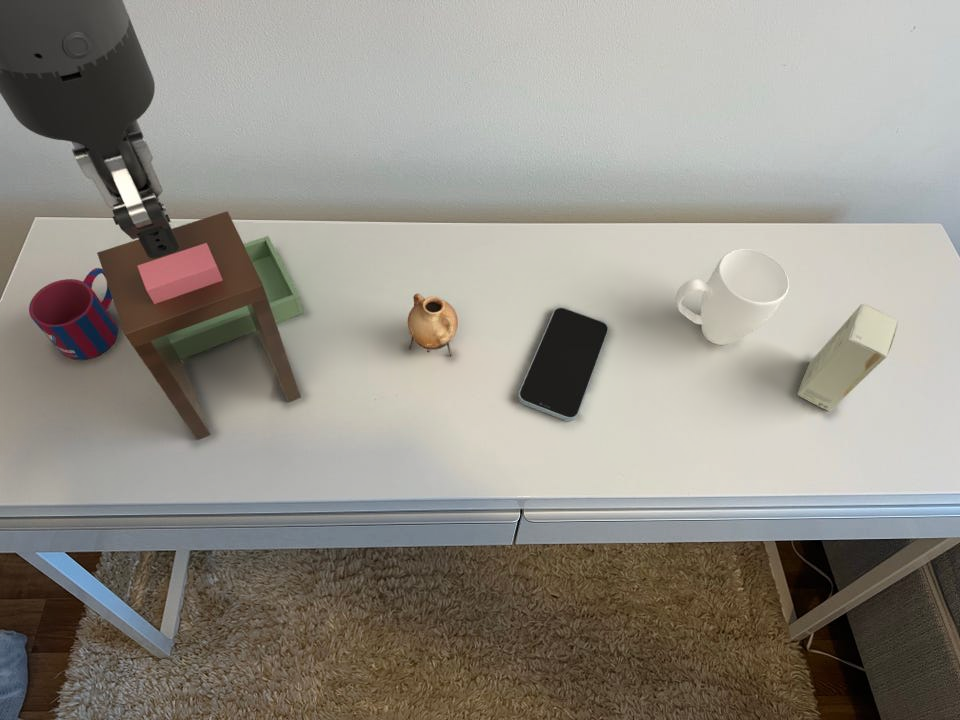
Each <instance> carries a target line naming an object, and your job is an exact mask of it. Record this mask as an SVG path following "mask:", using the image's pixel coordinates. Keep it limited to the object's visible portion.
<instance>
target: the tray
mask: <svg viewBox="0 0 960 720" xmlns="http://www.w3.org/2000/svg"><path fill="white" fill-rule="evenodd" d="M243 244H244V246H245V248H246V250H247V252H248V254H249V257H250V259H251V261H252V263H253V265H254V267H255V269H256V271H257V273H258V275H259V277H260V280H261V282H262V284H263V286H264V289H265V292H266V295H267V298H268V301H269V304H270V307H271V310H272V313H273V316H274V319H275V322H276V324H279V323H282V322H284V321H287V320H289V319H291V318H295V317H297V316H299V315H302V314H304V309H303V306H302V302H301V298H300V295H299V293H298V291H297V289H296V288H295V285H294V283H293V282H292V279H291V277H290V276H289V273H288V272H287V269H286V268H285V265H284V264H283V262H282V260H281V257H280V256H279V253H278V251H277V250H276V248H275V246H274V244H273V242H272V240H271V238H270V236H269V235H266V236H264V237H263V236H262V237H260V238H257V239H256V240H255V239H254V240H251V241H247V242H245V243H243ZM255 332H257V331H256V328H255V325H254V323H253V320H252V318H251V315H250V312H249V310H248V307H247V306H245V307H242V308H239V309H237V310H234V311H231V312H228V313H226V314H223V315H220V316H217V317H215V318H212V319H209V320H206V321H204V322H201V323H198V324H195V325H193V326H190V327H187V328H184V329H182V330H179V331H176V332H173V333H171V334H168V335H166V336H167V337H168V339H169V341H170V342H171V344H172V346H173V347H174V349H175V351H176V352H177V354H178V356H179V357H180V359H181V360H183V359H186V358H188V357H189V358H190V357H192V356H194V355H197V354H199V353H202V352H205V351H207V350H210V349H212V348H216V347H218V346H221V345H223V344H225V343H228V342H231V341H234V340H236V339H239V338H241V337H244V336H247V335H250V334H252V333H255Z"/></svg>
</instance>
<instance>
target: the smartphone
mask: <svg viewBox="0 0 960 720" xmlns="http://www.w3.org/2000/svg"><path fill="white" fill-rule="evenodd" d="M609 329H610V328H609V325H608V323H606V322H605V321H602V320H600V319H597V318H594V317H592V316H589V315H586V314H583V313H581V312H578V311H575V310H572V309H570V308H567V307H564V306H563V307H562V306H560V307H556V308H555V309H554V310H553V311H552V314H551V316H550V318H549V321H548V323H547V326H546V328H545V329H544V332H543V334H542V338H541V339H540V342H539V344H538V347H537V349H536V351H535V353H534V355H533V358H532V360H531V362H530V365H529V368H528V369H527V371H526V374H525V377H524V379H523V381H522V384H521V386H520V388H519V391H518V395H517V397H518V401H519V402H520V403H521V404H522V405H524V406H526V407H529V408H532V409H534V410H537V411H539V412H542V413H545V414H547V415H550V416H553V417H555V418H557V419H559V420H562V421H565V422H572V421H574V420H576V418H577V417H578V416H579V413H580V410H581V407H582V406H583V402H584V400H585V398H586V394H587V392H588V389H589V386H590V383H591V380H592V377H593V375H594V372H595V369H596V366H597V363H598V361H599V358H600V355H601V353H602V350H603V347H604V344H605V341H606V339H607V336H608V333H609Z"/></svg>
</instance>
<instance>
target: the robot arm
mask: <svg viewBox="0 0 960 720" xmlns="http://www.w3.org/2000/svg"><path fill="white" fill-rule="evenodd" d="M155 85H156V84H155V79H154V76H153V73H152V71H151V68H150V66H149V64H148V61H147V58H146V56H145V54H144V51H143V48H142V45H141V43H140V41H139V38H138V36H137V33H136V30H135V28H134V26H133V23H132V21H131V18H130V15H129V13H128V9H127V8H126V6H125V2H124V0H0V96H1V97H2V98H3V100H4V102H5V103H6V105H7V107H8V108H9V109H10V111H11V113H12V115H13V116H14V117H15V119H16V120H17V121H18V122H19V123H20V124H21V125H22V126H23V127H24V128H25V129H27V130H28V131H30V132H31V133H34V134H36V135H38V136H41V137H44V138H47V139H50V140H56V141H65V142H71V144H72V146H73V147H74V148H71V152H72V154H73V157H74V159H75V161H76V162H77V164H78V167H79V168H80V169H81V171H82V174H83V175H84V176H85V178H87V179H89V180H92V181H93V184H94V185H95V187H96V189H97V190H98V192H99V193H100V195H101V197H102V199H103V201H104V202H105V204H106V206H107V207H108V208H110V209H112V210H111V211H112V214H113V216H112V220H113V222H114V223H115V225H116V226H119V228H120V230H121V231H122V232H124V233H125V234H126V235H127V236H128V237H129V238H131V239H132V240H138V239H139V241H140V242H141V244H142V246H143V248H144V250H145V252H146V254H147V255H148V257H150V258H158V257H161V256H164V255H167V254H170V253H173V252H176V251H177V250H178V249H179V245H178V242H177V240H176V238H175V235H174V233H173V231H172V229H173V228H172V226H171V218H170V217H169V214H168V213H167V214H166V212H167V208H166V206H165V204H164V203H162V202H161V200H160V198H159V196H160V195H162V193H163V192H164V191H163V190H164V189H163V186H162V184H161V183H160V180H159V177H158V175H157V173H156V170H155V169H154V165H153V163H152V162H153V158H154V157H153V155H152V152H151V150H150V148H149V145H148V143H147V141H146V137H145V136H144V135H143V131H142V129H141V127H140V124H139V122H138V120H139V119H140V118H141V117H142V116H143V115H144V114H145V113H146V111H147V110H148V109H149V107H150V106H151V104H152V102H153V99H154V96H155V90H156V86H155Z"/></svg>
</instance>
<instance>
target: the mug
mask: <svg viewBox="0 0 960 720" xmlns="http://www.w3.org/2000/svg"><path fill="white" fill-rule="evenodd" d="M712 271H713V272H712V273H711V274H710V276H709V279H708V281H707V282H706V281H704V280H702V279H698V278H694V279H690V280H688V281H686V282H684V283H682V284H681V285H680V286H679V288H678V289H677V290H676V293H675V296H674V302H675V306H676V308H677V310H678V311H679V312H680V313H681V315H683V316H684V317H685V318H686V319H688V320H690V321H691V322H693V324H695V325H701V332H702V334H703V336H704V337H705V339H706V340H707V341H709V342H710V343H713V344H715V345H719V346H726V345H729V344H731V343H733V342H736V341H738V340H740V339H742V338H744V337H746V336H748V335H750V334H752V333H754V332H755V331H757V330H759V329H760V328H762V326H764V325H765V324H766V323H767V322H768V320H769V319H771V317H772V316H773V315H774V313H775V312H776V310H777V309H778V308H779V307H780V305H781V304H782V302H783V301H784V299H785V298H786V296H787V294H788V291H789V289H790V280H789V277H788V274H787V272H786V270H785V268H784V267H783V266H782V264H780V263H779V261H778V260H776V259H775V258H774V257H772V256H770V255H769V254H766V253H765V252H762V251H759V250H756V249H752V248H740V249H735V250H731V251H729V252H727V253H726V254H725V255H724V256H722V257H721V259H720V260H719V261H718V263H717V264H716V266H715V268H714V269H713V270H712ZM695 291H702V296H701V305H700V314H697V313H695V312H693V311H691V310H690V309H689V308H687V307H686V306H685V305H683V303H682V301H683V299H684V298H685V297H686V296H688V295H689V294H690V293H692V292H695Z"/></svg>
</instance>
